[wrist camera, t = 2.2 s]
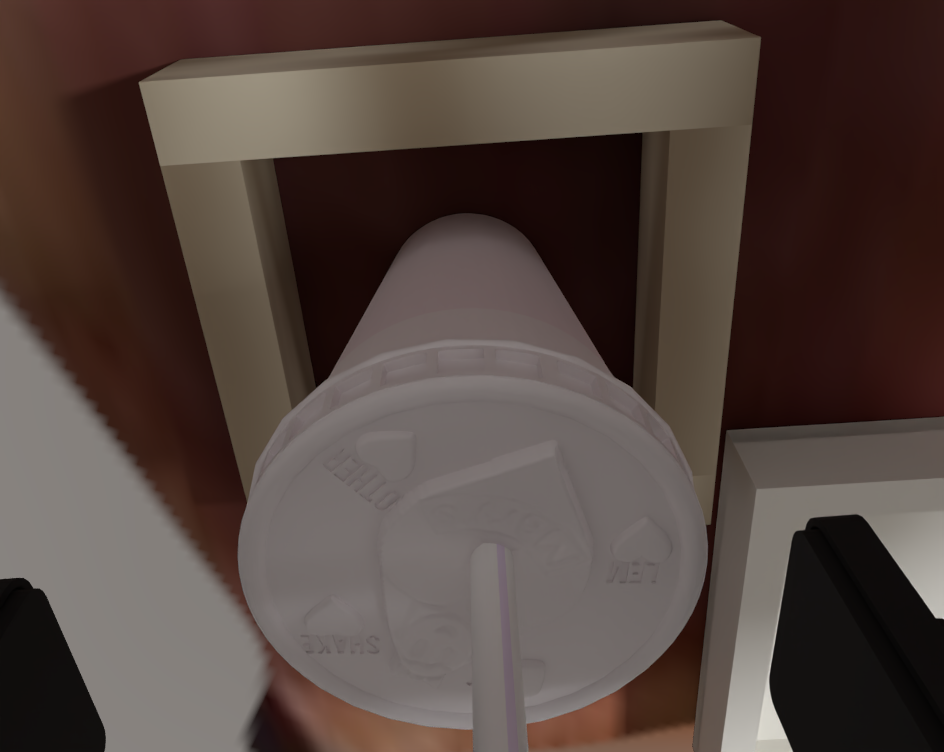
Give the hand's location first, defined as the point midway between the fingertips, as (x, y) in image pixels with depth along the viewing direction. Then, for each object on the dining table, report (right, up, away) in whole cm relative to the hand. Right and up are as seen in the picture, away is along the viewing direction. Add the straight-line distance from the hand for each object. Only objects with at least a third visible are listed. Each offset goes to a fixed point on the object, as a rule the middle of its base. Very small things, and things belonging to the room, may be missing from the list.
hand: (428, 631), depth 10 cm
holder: (0, +5, +9) cm, 10 cm away
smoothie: (0, +5, +9) cm, 11 cm away
